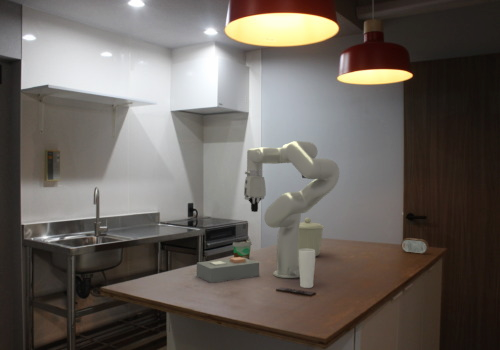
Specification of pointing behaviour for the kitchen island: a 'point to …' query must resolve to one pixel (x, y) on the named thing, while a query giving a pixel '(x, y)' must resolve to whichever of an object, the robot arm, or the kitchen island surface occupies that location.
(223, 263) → the cream cube block
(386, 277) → the kitchen island surface
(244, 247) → the food container
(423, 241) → the tin
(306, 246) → the canister
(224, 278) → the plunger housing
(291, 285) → the kitchen island surface
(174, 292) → the kitchen island surface
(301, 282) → the drinking glass
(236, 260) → the terracotta brown block
